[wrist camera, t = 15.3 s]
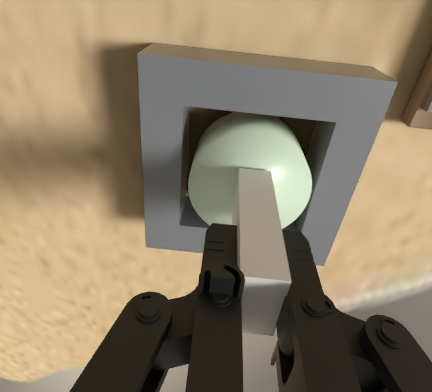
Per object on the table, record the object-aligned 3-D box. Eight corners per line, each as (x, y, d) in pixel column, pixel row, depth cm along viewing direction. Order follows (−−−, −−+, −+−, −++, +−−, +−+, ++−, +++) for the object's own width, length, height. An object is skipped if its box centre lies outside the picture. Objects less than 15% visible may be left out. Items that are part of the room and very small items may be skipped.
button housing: (156, 217, 22) (145, 247, 19) (153, 42, 16) (137, 53, 13) (313, 233, 22) (323, 265, 19) (372, 66, 16) (398, 81, 13)
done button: (192, 199, 19) (185, 231, 17) (197, 104, 16) (190, 125, 14) (288, 209, 19) (295, 242, 17) (313, 116, 16) (327, 140, 14)
